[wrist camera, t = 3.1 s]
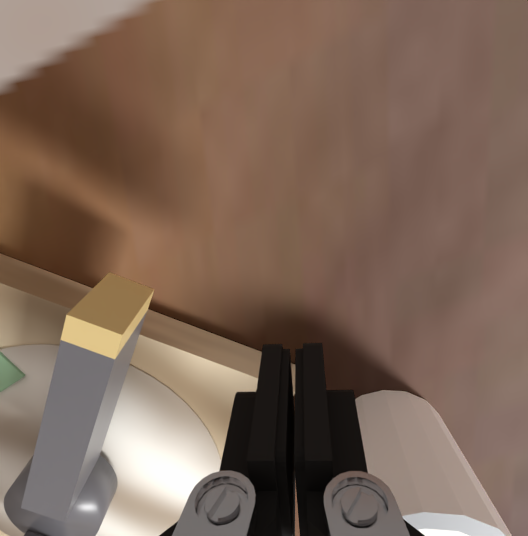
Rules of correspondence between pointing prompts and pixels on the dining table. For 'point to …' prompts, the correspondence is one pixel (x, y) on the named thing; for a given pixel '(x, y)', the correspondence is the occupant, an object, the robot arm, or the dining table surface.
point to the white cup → (424, 467)
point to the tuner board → (121, 400)
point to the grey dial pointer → (80, 415)
